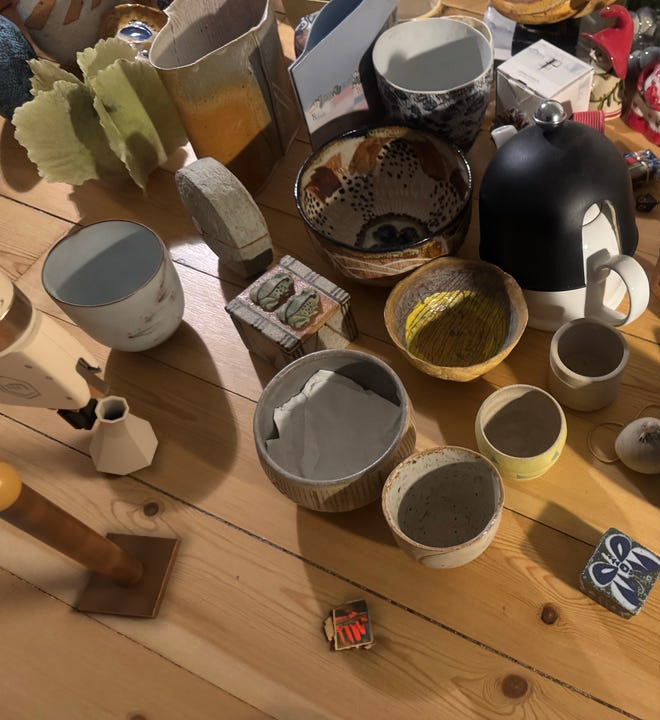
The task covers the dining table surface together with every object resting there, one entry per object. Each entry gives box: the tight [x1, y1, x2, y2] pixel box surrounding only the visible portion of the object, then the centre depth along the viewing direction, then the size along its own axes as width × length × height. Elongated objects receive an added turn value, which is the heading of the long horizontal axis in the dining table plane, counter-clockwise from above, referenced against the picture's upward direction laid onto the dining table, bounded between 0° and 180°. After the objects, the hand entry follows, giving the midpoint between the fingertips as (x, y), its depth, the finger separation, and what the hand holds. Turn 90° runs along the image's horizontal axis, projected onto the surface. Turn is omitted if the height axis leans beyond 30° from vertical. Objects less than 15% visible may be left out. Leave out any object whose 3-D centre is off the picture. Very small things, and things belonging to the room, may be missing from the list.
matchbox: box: [323, 598, 377, 651], centre depth 71 cm, size 5×5×1 cm
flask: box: [88, 395, 159, 476], centre depth 78 cm, size 7×7×10 cm
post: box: [0, 461, 182, 619], centre depth 64 cm, size 8×8×26 cm
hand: (89, 417), depth 76 cm, fingers closed
